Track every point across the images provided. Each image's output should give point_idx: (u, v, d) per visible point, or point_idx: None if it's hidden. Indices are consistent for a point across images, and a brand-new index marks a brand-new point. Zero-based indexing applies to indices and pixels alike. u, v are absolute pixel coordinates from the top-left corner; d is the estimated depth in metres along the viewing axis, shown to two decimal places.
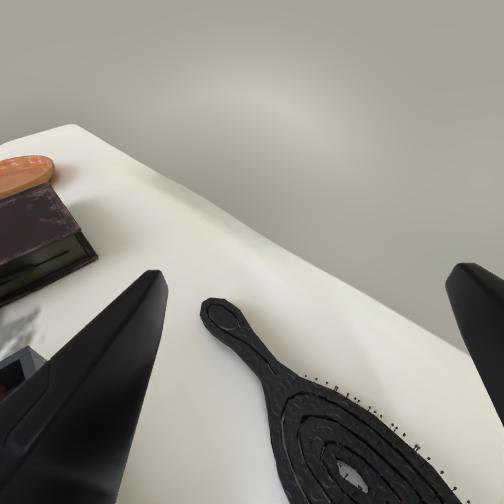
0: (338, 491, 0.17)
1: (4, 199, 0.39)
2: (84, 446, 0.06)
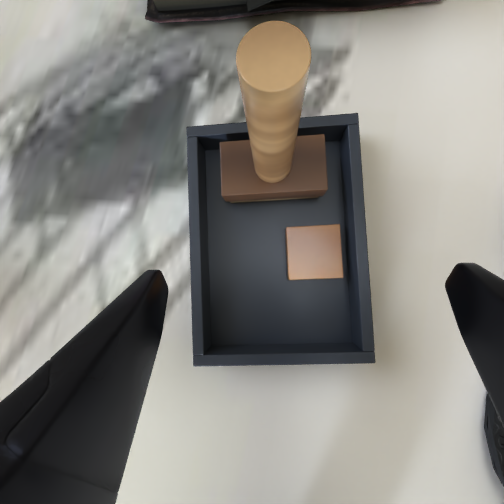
0: None
1: None
2: (84, 446, 0.06)
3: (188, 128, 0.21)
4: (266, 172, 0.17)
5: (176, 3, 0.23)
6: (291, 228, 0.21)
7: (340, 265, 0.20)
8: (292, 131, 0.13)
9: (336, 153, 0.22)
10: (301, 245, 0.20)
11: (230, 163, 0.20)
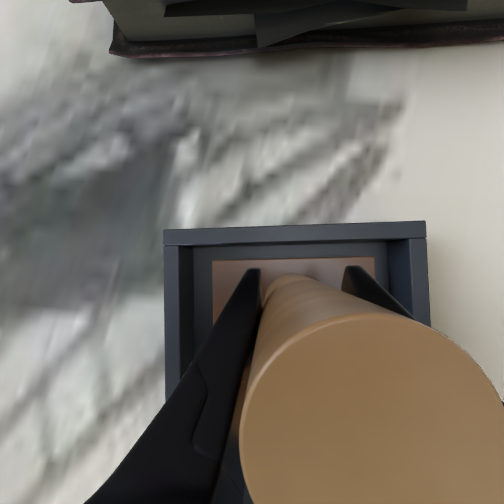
0: None
1: None
2: (237, 450, 0.05)
3: (166, 232, 0.14)
4: None
5: (153, 32, 0.16)
6: None
7: None
8: None
9: (382, 260, 0.15)
10: None
11: (228, 295, 0.13)
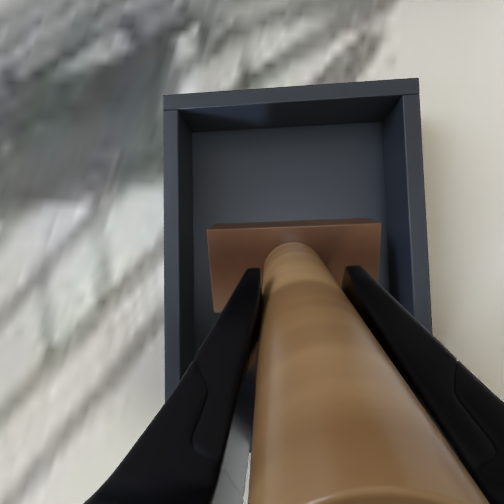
0: None
1: None
2: (237, 450, 0.05)
3: (165, 97, 0.14)
4: None
5: None
6: None
7: None
8: None
9: (377, 139, 0.16)
10: None
11: (225, 265, 0.12)
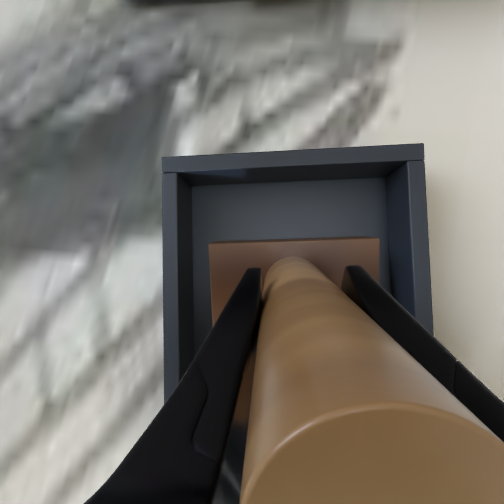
0: None
1: None
2: (238, 450, 0.05)
3: (164, 159, 0.14)
4: None
5: None
6: None
7: None
8: None
9: (380, 195, 0.15)
10: None
11: (226, 279, 0.12)
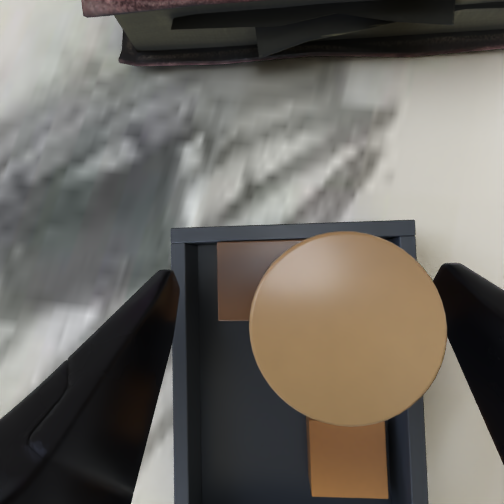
0: None
1: None
2: (103, 446, 0.06)
3: (173, 230, 0.15)
4: None
5: (160, 42, 0.17)
6: (316, 423, 0.15)
7: (385, 480, 0.14)
8: None
9: None
10: (330, 448, 0.15)
11: (231, 274, 0.14)
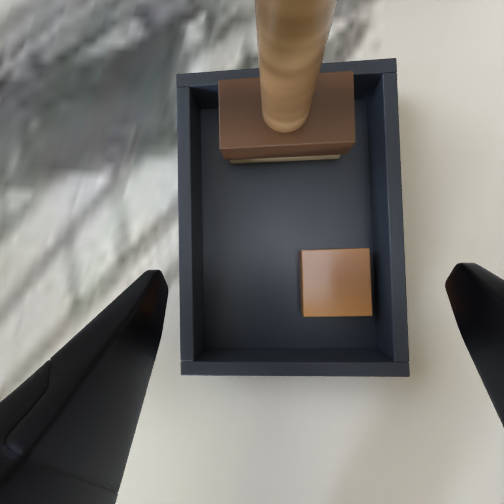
0: None
1: None
2: (84, 446, 0.06)
3: (178, 76, 0.16)
4: (278, 112, 0.13)
5: None
6: (308, 252, 0.16)
7: (369, 300, 0.16)
8: (324, 24, 0.09)
9: (362, 114, 0.18)
10: (320, 273, 0.16)
11: (231, 107, 0.15)
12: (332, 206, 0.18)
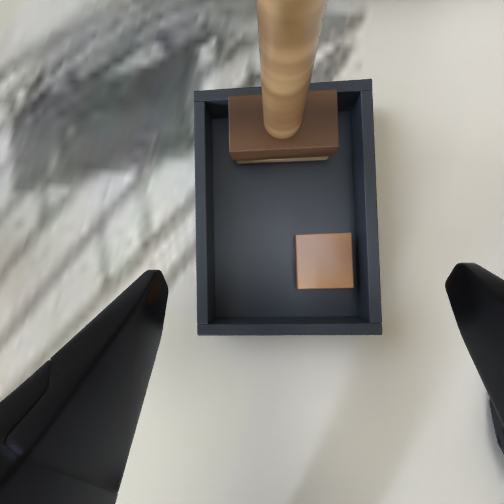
0: None
1: None
2: (84, 446, 0.06)
3: (195, 92, 0.20)
4: (276, 123, 0.17)
5: None
6: (301, 236, 0.20)
7: (351, 274, 0.20)
8: (308, 65, 0.12)
9: (347, 123, 0.22)
10: (311, 253, 0.20)
11: (239, 118, 0.19)
12: (321, 199, 0.21)
